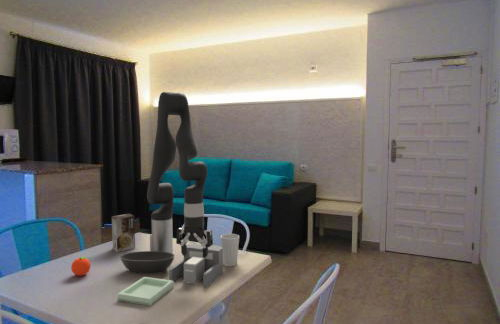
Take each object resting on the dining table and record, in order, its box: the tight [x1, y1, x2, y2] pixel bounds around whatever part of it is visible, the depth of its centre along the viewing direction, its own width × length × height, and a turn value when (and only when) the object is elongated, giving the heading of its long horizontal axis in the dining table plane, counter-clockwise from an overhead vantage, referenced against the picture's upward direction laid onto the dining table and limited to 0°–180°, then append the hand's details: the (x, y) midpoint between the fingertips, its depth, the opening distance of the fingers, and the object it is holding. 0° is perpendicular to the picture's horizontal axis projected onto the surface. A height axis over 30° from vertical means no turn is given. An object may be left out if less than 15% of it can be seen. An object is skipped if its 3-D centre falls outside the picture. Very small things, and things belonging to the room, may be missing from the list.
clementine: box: [70, 256, 92, 277], centre depth 148 cm, size 8×7×7 cm
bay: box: [168, 243, 224, 288], centre depth 145 cm, size 15×16×10 cm
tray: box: [117, 276, 175, 307], centre depth 131 cm, size 12×15×2 cm
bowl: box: [120, 250, 175, 275], centre depth 152 cm, size 12×22×6 cm, turn 89°
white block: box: [183, 257, 205, 285], centre depth 143 cm, size 5×9×8 cm, turn 162°
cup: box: [220, 233, 240, 267], centre depth 160 cm, size 8×8×12 cm
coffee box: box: [111, 213, 136, 253], centre depth 180 cm, size 9×6×16 cm
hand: (194, 256), depth 143 cm, fingers open, 8 cm apart
